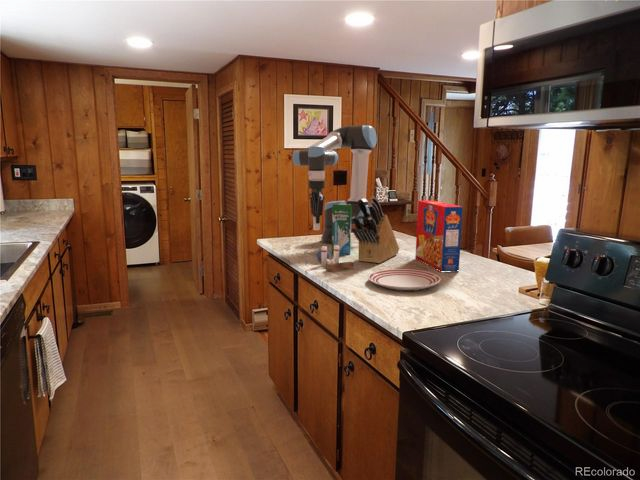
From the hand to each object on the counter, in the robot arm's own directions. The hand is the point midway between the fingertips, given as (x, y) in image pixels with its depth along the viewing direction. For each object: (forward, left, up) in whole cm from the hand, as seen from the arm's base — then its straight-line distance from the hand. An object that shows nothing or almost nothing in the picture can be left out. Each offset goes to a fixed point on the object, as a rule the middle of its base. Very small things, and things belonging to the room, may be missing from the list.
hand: (316, 229), depth 223 cm
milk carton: (-17, -7, -14) cm, 23 cm away
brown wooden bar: (0, +26, -14) cm, 30 cm away
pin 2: (-3, +16, -14) cm, 21 cm away
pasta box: (-45, +33, -14) cm, 57 cm away
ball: (0, +9, -11) cm, 14 cm away
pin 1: (+3, +16, -14) cm, 21 cm away
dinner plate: (-13, +55, -14) cm, 58 cm away
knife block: (-25, +14, -14) cm, 31 cm away
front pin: (+1, +14, -12) cm, 19 cm away
